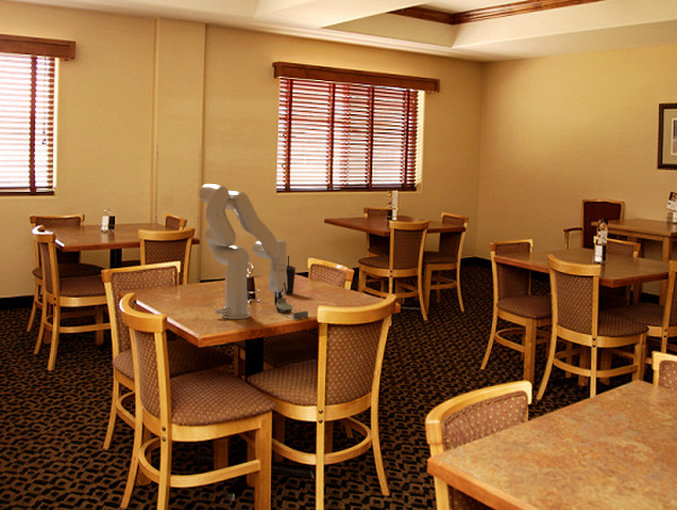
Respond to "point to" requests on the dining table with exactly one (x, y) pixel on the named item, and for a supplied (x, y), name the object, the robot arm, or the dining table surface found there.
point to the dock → (298, 315)
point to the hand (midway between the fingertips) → (278, 305)
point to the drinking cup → (290, 278)
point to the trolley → (283, 305)
